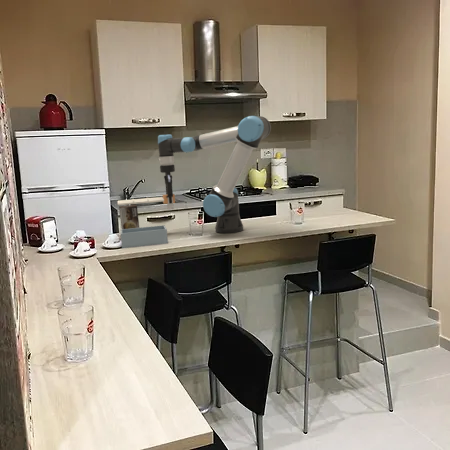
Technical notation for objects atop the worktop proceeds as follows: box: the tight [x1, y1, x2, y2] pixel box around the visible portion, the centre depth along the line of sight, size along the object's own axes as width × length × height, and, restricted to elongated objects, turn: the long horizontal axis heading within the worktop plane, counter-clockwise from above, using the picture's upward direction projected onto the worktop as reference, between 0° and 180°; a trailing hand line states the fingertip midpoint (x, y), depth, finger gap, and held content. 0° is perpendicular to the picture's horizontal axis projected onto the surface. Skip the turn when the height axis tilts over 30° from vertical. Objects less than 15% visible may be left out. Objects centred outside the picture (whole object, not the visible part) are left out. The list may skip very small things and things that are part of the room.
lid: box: [117, 193, 176, 206], centre depth 272 cm, size 30×13×4 cm, turn 101°
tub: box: [120, 225, 169, 249], centre depth 256 cm, size 22×12×8 cm, turn 101°
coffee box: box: [118, 204, 140, 229], centre depth 286 cm, size 9×6×16 cm
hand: (170, 208), depth 275 cm, fingers closed on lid, 3 cm apart
